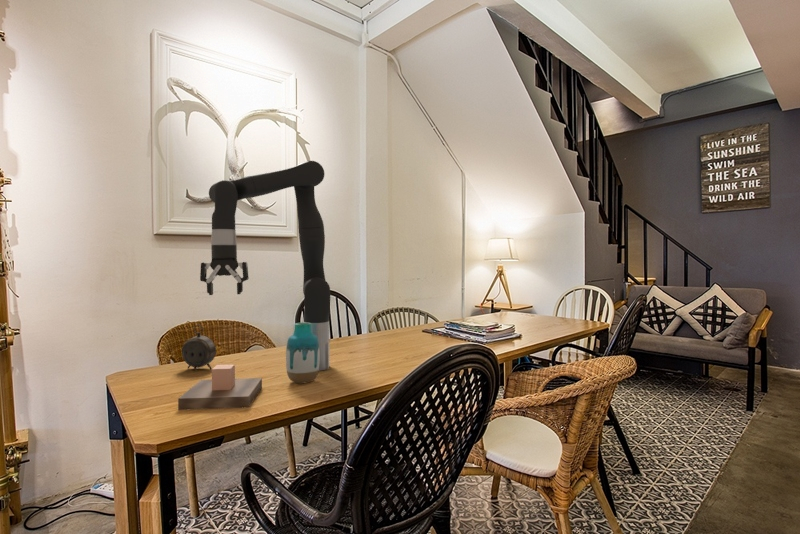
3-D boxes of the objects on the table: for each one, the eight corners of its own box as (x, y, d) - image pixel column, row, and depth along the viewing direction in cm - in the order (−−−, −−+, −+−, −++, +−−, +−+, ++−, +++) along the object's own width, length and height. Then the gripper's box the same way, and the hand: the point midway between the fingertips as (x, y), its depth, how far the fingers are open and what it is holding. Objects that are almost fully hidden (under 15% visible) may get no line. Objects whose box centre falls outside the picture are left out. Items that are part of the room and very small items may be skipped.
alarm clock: (216, 368, 158) (216, 323, 158) (208, 372, 153) (208, 326, 153) (188, 367, 159) (188, 323, 159) (179, 371, 154) (179, 325, 154)
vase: (308, 376, 148) (308, 320, 148) (325, 382, 141) (326, 323, 141) (279, 382, 141) (280, 323, 141) (297, 389, 133) (297, 327, 133)
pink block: (234, 384, 127) (234, 364, 127) (230, 389, 122) (230, 368, 122) (217, 385, 127) (217, 364, 127) (211, 390, 122) (211, 369, 122)
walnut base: (261, 387, 135) (261, 378, 134) (248, 407, 117) (248, 396, 117) (201, 389, 132) (201, 379, 132) (178, 409, 114) (178, 398, 114)
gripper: (249, 244, 144) (250, 293, 144) (204, 244, 142) (205, 294, 142) (244, 243, 136) (245, 295, 137) (196, 243, 134) (198, 296, 134)
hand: (225, 294), depth 139 cm, fingers open, 8 cm apart
